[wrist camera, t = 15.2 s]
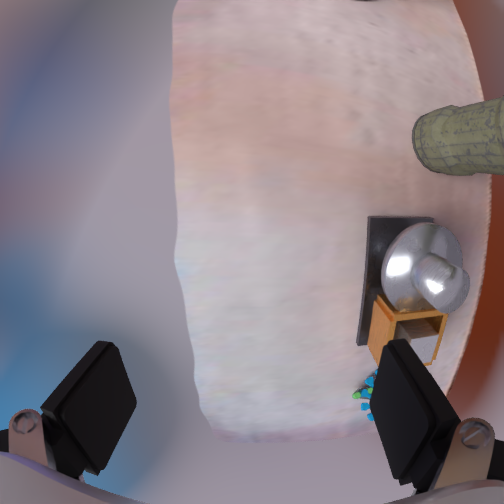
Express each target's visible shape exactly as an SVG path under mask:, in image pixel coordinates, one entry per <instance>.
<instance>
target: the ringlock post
mask: <svg viewBox="0 0 504 504" xmlns="http://www.w3.org/2000/svg"><path fill="white" fill-rule="evenodd" d="M469 286H470V280H469V276H468V274H467V272H466V271H465V270H463V269H462V252H461V248H460V245H459V242H458V240H457V239H456V237H455V236H454V235H453V233H452V232H451V231H449V230H448V229H446V228H444V227H442V226H440V225H437V224H434V223H433V218H430V217H380V216H368V226H367V246H366V261H365V274H364V285H363V294H362V303H361V311H360V319H359V326H358V333H357V340H356V343H357V345H358V346H361V345H368V347H369V350H370V352H371V353H372V355H373V357H374V359H375V361H376V363H377V365H378V367H379V362H380V358H381V353H382V349H383V346H384V345H387V343H388V341H390V340H393V336H394V332H395V327H396V322H397V321H402V320H410V319H418V318H424V319H425V320H426V321H427V322H428V323H429V324H430V325H431V327H432V328H433V329H434V330H435V331H436V332H437V333H438V334H439V337H438V340H437V344H436V347H435V350H434V353H433V356H432V360H431V362H427V363H423V364H424V366H428V365H431V364H432V361H433V360H435V359H436V356H437V352H438V349H439V346H440V343H441V339H442V336H443V332H444V329H445V325H446V321H447V317H448V313H451V312H453V311H455V310H456V309H458V308H459V307H460V306H461V305H462V303H463V302H464V300H465V299H466V297H467V294H468V291H469Z"/></svg>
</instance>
